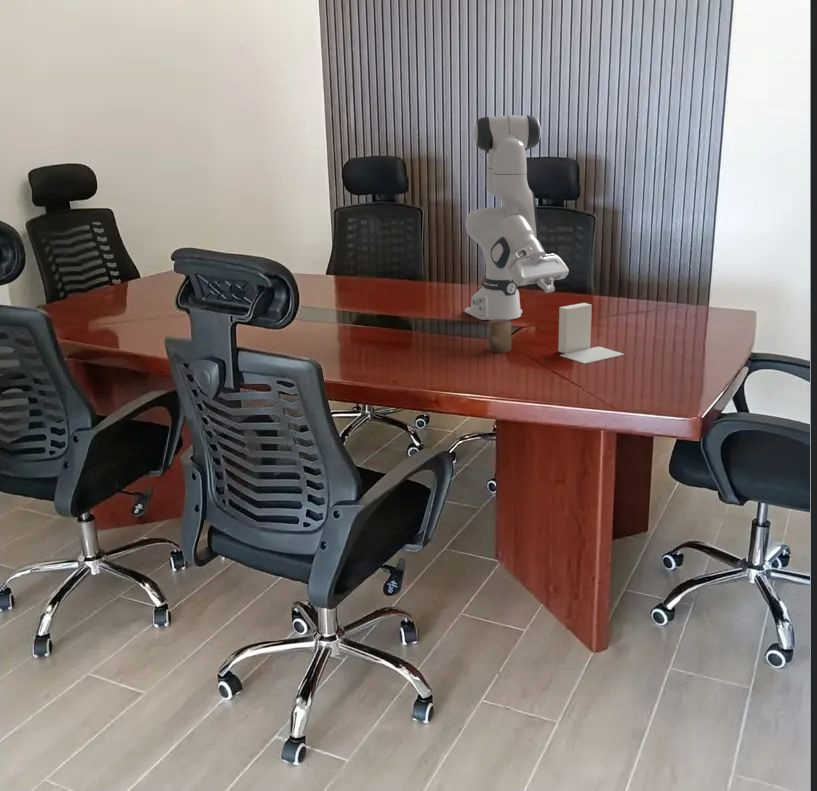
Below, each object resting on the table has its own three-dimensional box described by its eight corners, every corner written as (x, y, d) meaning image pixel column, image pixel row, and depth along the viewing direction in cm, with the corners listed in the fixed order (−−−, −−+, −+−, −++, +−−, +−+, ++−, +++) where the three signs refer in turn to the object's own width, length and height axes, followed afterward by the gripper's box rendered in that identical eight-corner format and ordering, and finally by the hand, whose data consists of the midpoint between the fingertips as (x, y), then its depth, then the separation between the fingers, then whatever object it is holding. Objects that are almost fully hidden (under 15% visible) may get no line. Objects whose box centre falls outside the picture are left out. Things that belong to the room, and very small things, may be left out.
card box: (558, 351, 273) (559, 307, 269) (582, 346, 278) (584, 302, 274) (565, 353, 271) (567, 309, 266) (590, 348, 275) (591, 304, 271)
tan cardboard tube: (484, 349, 278) (484, 321, 276) (501, 345, 282) (502, 318, 279) (497, 353, 273) (497, 325, 270) (515, 350, 276) (515, 322, 273)
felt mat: (560, 355, 268) (560, 354, 268) (599, 347, 276) (599, 346, 276) (584, 364, 260) (584, 363, 259) (624, 354, 267) (624, 354, 267)
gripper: (551, 258, 291) (570, 292, 286) (502, 266, 281) (521, 301, 276) (560, 247, 286) (580, 281, 281) (510, 253, 276) (530, 289, 271)
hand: (550, 291), depth 279 cm, fingers closed
